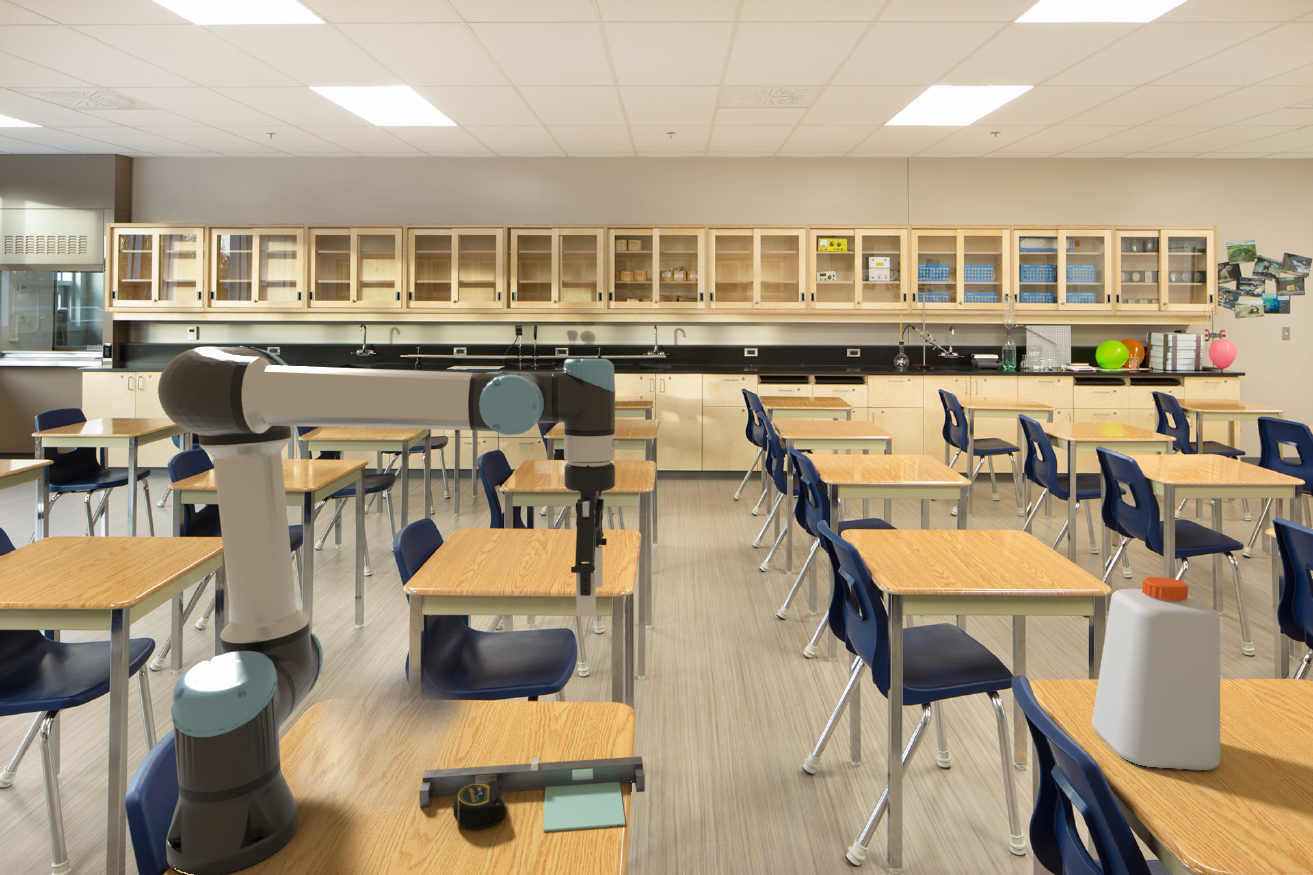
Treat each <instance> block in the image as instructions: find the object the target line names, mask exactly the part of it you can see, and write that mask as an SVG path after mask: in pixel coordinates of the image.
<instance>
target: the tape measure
mask: <svg viewBox="0 0 1313 875" xmlns="http://www.w3.org/2000/svg"><path fill="white" fill-rule="evenodd" d="M500 788H501V786H499V783H498V782H497V781H491V782H488V784H486V783H475V784H471V785H468V786H466V787H464V788H462V789H461V790H460V791H459V792H458V793H457V795H455V797H454V798H453V807H452V808H453V817H454V820H456V822H457V823H458V824H459V826H461V827H464V828H466V829H472V830H478V829H479V830H480V829H483V828H486V827H489V826H492V825H496V824H499V823H501V822H503V821H504V820H505V819H506V816H507V808H506V804H505V802H504V800H503V798H502V792H501V789H500Z"/></svg>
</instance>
